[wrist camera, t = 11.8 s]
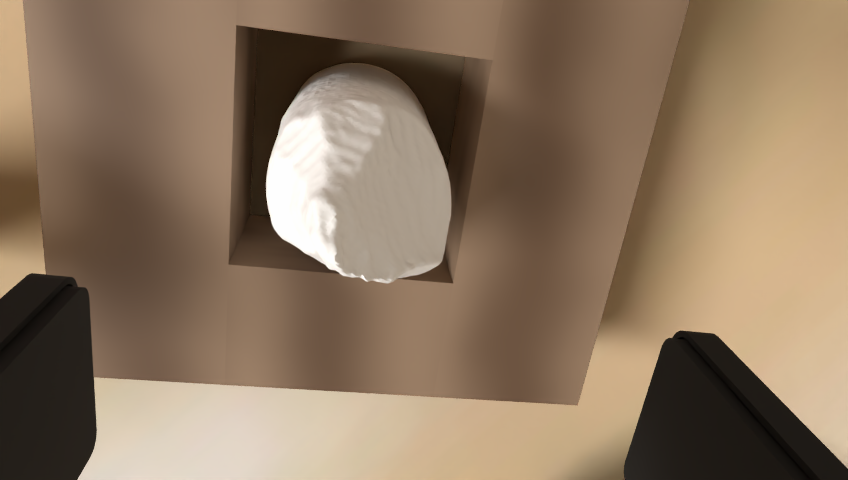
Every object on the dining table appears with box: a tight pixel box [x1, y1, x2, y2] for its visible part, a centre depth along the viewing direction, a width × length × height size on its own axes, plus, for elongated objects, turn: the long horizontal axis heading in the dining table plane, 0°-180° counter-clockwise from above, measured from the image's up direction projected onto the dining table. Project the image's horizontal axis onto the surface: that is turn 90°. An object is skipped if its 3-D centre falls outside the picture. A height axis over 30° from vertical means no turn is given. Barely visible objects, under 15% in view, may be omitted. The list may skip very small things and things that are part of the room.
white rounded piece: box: [266, 63, 451, 283], centre depth 21 cm, size 6×12×6 cm
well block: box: [23, 0, 690, 405], centre depth 24 cm, size 20×18×5 cm
